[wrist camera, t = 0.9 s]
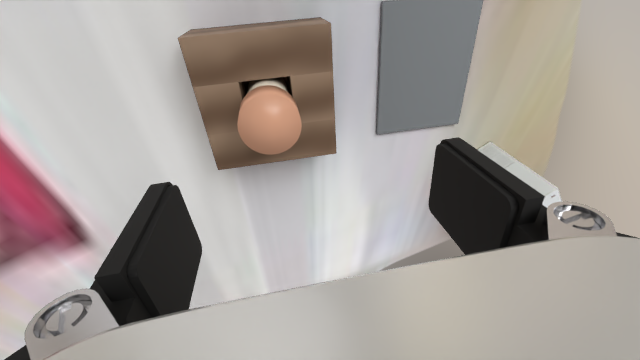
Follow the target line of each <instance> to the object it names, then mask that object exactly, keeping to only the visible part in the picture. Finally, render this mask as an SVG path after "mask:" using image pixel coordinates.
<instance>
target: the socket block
mask: <svg viewBox="0 0 640 360" xmlns="http://www.w3.org/2000/svg"><path fill="white" fill-rule="evenodd" d="M178 40H179V44H180V47H181V50H182V53H183V57H184V60H185V63H186V66H187V70H188V73H189V76H190V79H191V83H192V86H193V89H194V93H195V96H196V99H197V102H198V106H199V109H200V112H201V115H202V119H203V122H204V125H205V128H206V132H207V135H208V138H209V142H210V145H211V148H212V151H213V155H214V158H215V161H216V164H217V168H218V170H222V169H229V168H236V167H243V166H250V165H257V164H264V163H272V162H279V161H286V160H293V159H300V158H307V157H314V156H321V155H328V154H335V153H336V133H335V110H334V86H333V63H332V39H331V23H330V22H328V21H326V20H324V19H322V18H321V17H319V18H309V19H298V20H288V21H277V22H267V23H256V24H245V25H235V26H224V27H214V28H203V29H193V30H190V31H188V32H186V33H185V34H183V35H182V36H180V37H179V38H178ZM278 77H282V78H283V79H284V81H285V83H286V85H287V89H288V93H289V94H290V95H291V96H292V97H293V99H294V100H295V102H296V105H297V108H298V111H299V114H300V118H301V123H302V128H301V133H300V136H299V138H298V140H297V142H296V143H295V144H294V145H293V146H292V147H291V148H290V149H288V150H286V151H284V152H282V153H279V154H272V155H268V154H262V153H258V152H256V151H254V150H252V149H251V148H249V147H248V146H247V145H246V144H245V143H244V142H243V140H242V139H241V137H240V135H239V132H238V126H237V122H238V116H239V110H240V105H241V102H242V100H243V98H244V97H245V96H246V94H247V91H248V84H249V81H251V80H260V79H269V78H278Z"/></svg>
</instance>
